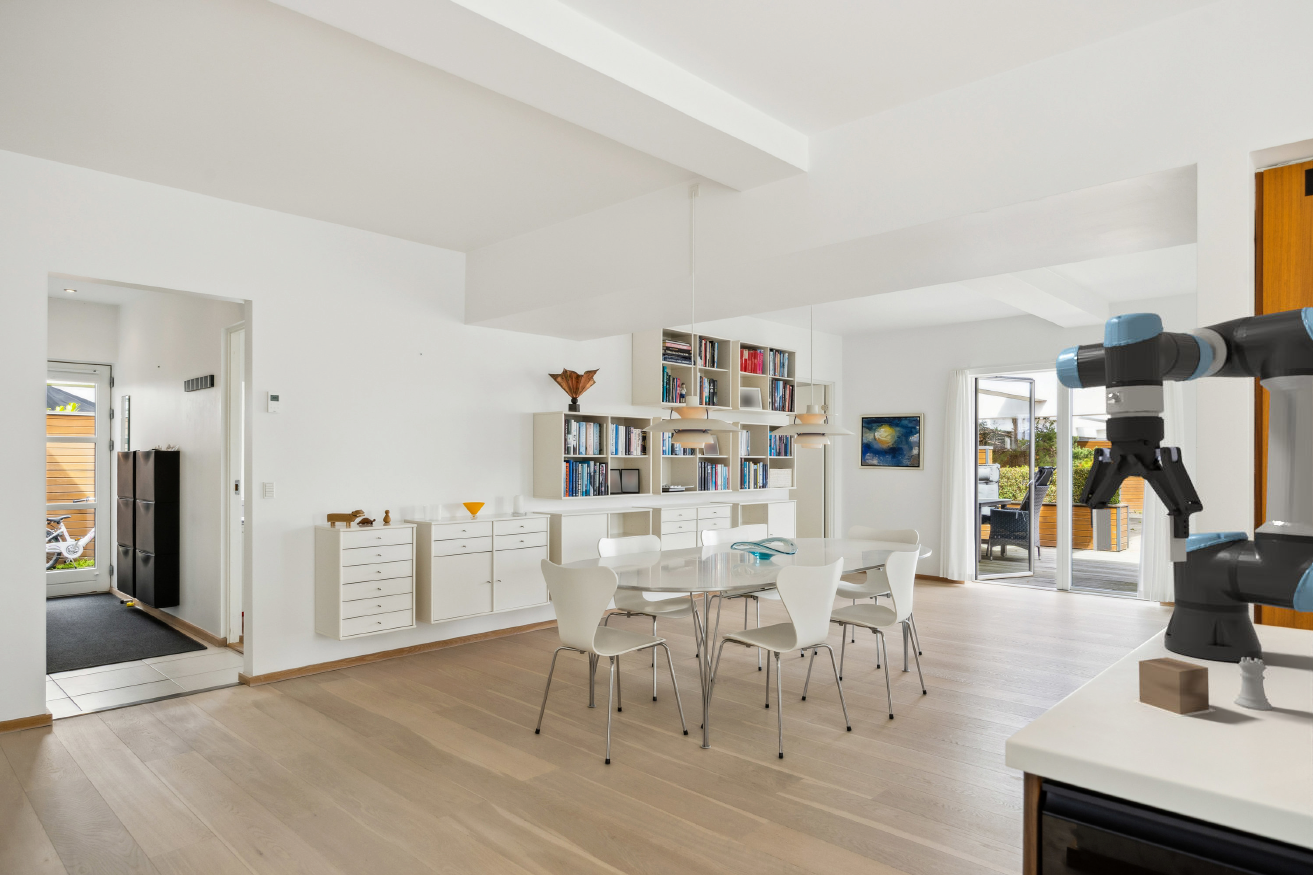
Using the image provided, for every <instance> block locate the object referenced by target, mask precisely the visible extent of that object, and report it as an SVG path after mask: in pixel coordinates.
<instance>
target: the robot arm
mask: <svg viewBox="0 0 1313 875" xmlns="http://www.w3.org/2000/svg"><path fill="white" fill-rule="evenodd" d="M1103 338H1104V339H1103V342H1097V343H1096V342H1095V343H1092V344H1083V345H1082V344H1081V345H1080V344H1079V345H1077V346H1072V347H1067V348H1065V349H1063V350H1062V351H1061V352H1060V353H1059V354H1058V356H1057V358H1056V361H1055V369H1056V377H1057V379H1058V381H1059V382H1060V383H1061V385H1062V386H1064V387H1065V388H1068V389H1088V388H1089V389H1091V388H1098V387H1099V388H1100V387H1105V413H1106V414H1107V415H1110V417H1108V418H1107V420H1105V438H1106V441H1108V442H1110V444H1111V446H1110V447H1095V448H1094V449H1093V459H1092V460H1093V461H1092V464H1091V467H1090V470H1089V471H1088V472H1089V473H1088V475H1087V478H1086V480H1085V484H1084V486H1083V488H1082V491H1081V494H1080V496H1079V503H1080V504H1081V505H1086V506H1087V507H1088V508H1089V509H1090V510H1089V511H1090V526H1091V529H1092V543H1093V548H1092V549H1093V550H1094V551H1112V514H1111V513H1112V512H1111V511H1112V509H1110V506H1109V504H1110V502H1111V501H1112V499H1113V497H1114V496H1115V495H1116V493H1117V491H1118V490H1119V488H1120V487H1121V485H1122V484H1123V483H1124V481H1125V480H1126V479H1128V478H1130V477H1132V478H1133V477H1135V478H1142V479H1143V480H1144V481H1147V482H1148V484H1149V485H1150V487H1151V488H1152V489H1153V491H1154V492H1155V494H1156V495H1157V497H1158V498H1159V500H1160V501H1161V502H1162V504H1163V505H1164V506H1165V508H1166V510H1168V512H1167V513H1166V515H1164V525H1165V526H1164V530H1165V533H1164V534H1165V539H1164V540H1165V561H1166V562H1169V563H1173V564H1172V565H1173V566H1172V568H1173V570H1172V571H1173V596H1174V600H1173V601H1174V603H1173V606H1174V607H1173V612H1172V614H1171V617H1170V619H1169V621H1168V625H1167V627H1166V631H1165V633H1164V638H1163V639H1164V644H1163V645H1164V648H1166V649H1167V650H1169V651H1172V652H1175V653H1177V654H1180V655H1185V656H1188V657H1193V658H1200V659H1206V660H1212V661H1223V662H1239V663H1240V662H1241V658H1242V657H1245V658H1246V660H1247V657H1251V660H1252V661H1254V658H1257V659H1259V661H1260V660H1262V658H1263V655H1262V654H1263V653H1262V645H1261V642H1260V640H1259V637H1258V634H1257V631H1256V629H1255V627H1254V625H1253V622H1252V620H1251V617H1250V608H1249V604H1253V605H1260V606H1264V607H1265V606H1266V607H1271V608H1272V607H1273V608H1279V609H1286V610H1292V611H1297V613H1298V612H1299V613H1313V307H1311V306H1310V307H1309V306H1305V307H1302V308H1297V309H1291V310H1284V311H1279V312H1273V313H1266V314H1265V313H1264V314H1260V315H1259V314H1258V315H1253V316H1244V317H1239V318H1235V319H1231V320H1226V321H1223V322H1219V323H1216V324H1212V325H1208V326H1203V327H1197V328H1196V327H1195V328H1192V329H1188V330H1187V331H1185V332H1172V331H1164V327H1163V321H1162V318H1161V316H1160V315H1159V314H1157V313H1153V312H1136V313H1135V312H1134V313H1126V314H1120V315H1115V316H1113V317H1110V318H1109V319H1107V320H1106V322H1105V325H1104V337H1103ZM1201 378H1235V379H1236V378H1243V379H1244V378H1259V384H1260V386H1262V387H1263V388H1264V389H1266V390H1267V391H1268V392H1269V409H1268V410H1269V411H1268V413H1269V414H1268V418H1269V419H1268V448H1267V451H1268V452H1267V473H1266V475H1267V476H1266V480H1267V481H1266V482H1267V483H1266V505H1265V506H1266V507H1265V508H1266V511H1265V512H1266V513H1265V516H1266V517H1265V522H1264V523H1263V524H1262V525H1260V526H1259V527H1258V528H1256V529H1255V530H1254V540H1250V539H1249V536H1248V534H1247V532H1246V531H1221V532H1220V531H1219V532H1217V531H1215V532H1201V533H1199V532H1198V533H1190V516H1191V515H1192V514H1195V513H1200V512H1203V510H1204V507H1203V504H1202V501H1201V499H1200V497H1199V494H1198V493H1197V491H1196V489H1195V486H1194V484H1193V482H1192V480H1191V478H1190V475H1189V473H1188V471H1187V468H1186V467H1185V465H1184V462H1183V456H1182V449H1181V447H1179V446H1162V447H1161V442H1162V441H1164V439H1165V419H1164V418H1163V416H1160V414H1162V413H1164V412H1165V407H1164V406H1165V405H1164V382H1170V381H1173V382H1175V383H1176V382H1178V383H1179V382H1188V381H1189V382H1190V381H1193V380H1196V379H1201ZM1160 462H1161V463H1160Z"/></svg>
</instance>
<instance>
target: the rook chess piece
mask: <svg viewBox="0 0 1313 875" xmlns="http://www.w3.org/2000/svg"><path fill="white" fill-rule="evenodd" d="M1238 666H1239V667H1240V668H1241V674H1240V676H1241V680H1242V681H1241V687H1240V688H1241V689H1240V693H1238V697H1236V699H1235V700H1234V704H1235V705H1236V706H1239V707H1242V708H1245V709H1248V710H1256V711H1271V710H1272V709H1273V706H1272V704H1271V702H1269V698H1268V697H1267V696H1266V693H1265V692H1266V691H1265V688H1264V680H1265V676H1264V674H1263V673H1264V671H1266V669H1267V666H1266V665H1265V664H1264V660H1263V659H1260V660H1259V659H1257V658H1254V661H1252V660H1251V657H1247V660H1246V658H1245V657H1242V658H1241V662H1239V663H1238Z"/></svg>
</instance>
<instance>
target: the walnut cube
mask: <svg viewBox="0 0 1313 875" xmlns="http://www.w3.org/2000/svg"><path fill="white" fill-rule="evenodd" d="M1138 677H1139V678H1138V680H1139V681H1138V684H1139V691H1138V692H1139V694H1138V695H1139V700H1140V702H1142V703H1145V704H1148V705H1152V706H1155V707H1158V708H1161V709H1164V710H1167V711H1170V712H1174V713H1177V714H1180V715H1181V714H1187V713H1192V712H1198V711H1204V710H1209V708H1210V699H1209V698H1210V696H1209V691H1210V690H1209V667H1207V666H1205V665H1204V666H1203V665H1199V664H1195V663H1191V662H1186V661H1183V660H1179V659H1176V658H1172V657H1171V658H1170V657H1159V658H1152V659H1144V660H1139V661H1138Z"/></svg>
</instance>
